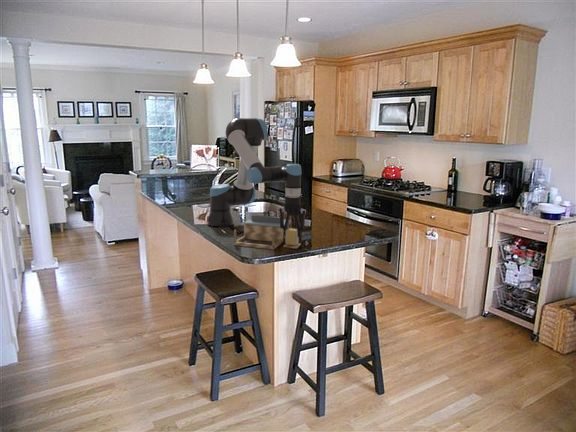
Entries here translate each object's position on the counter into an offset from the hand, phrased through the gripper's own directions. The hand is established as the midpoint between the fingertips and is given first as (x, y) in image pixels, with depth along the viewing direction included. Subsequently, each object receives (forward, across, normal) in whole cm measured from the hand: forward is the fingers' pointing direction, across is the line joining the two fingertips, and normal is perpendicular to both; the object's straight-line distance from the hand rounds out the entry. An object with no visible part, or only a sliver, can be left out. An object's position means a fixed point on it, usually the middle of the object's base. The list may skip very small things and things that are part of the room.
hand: (292, 242), depth 214 cm
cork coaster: (+2, 0, 0) cm, 2 cm away
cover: (-6, -17, +12) cm, 22 cm away
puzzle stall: (+2, -17, +6) cm, 18 cm away
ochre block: (0, 0, 0) cm, 0 cm away
